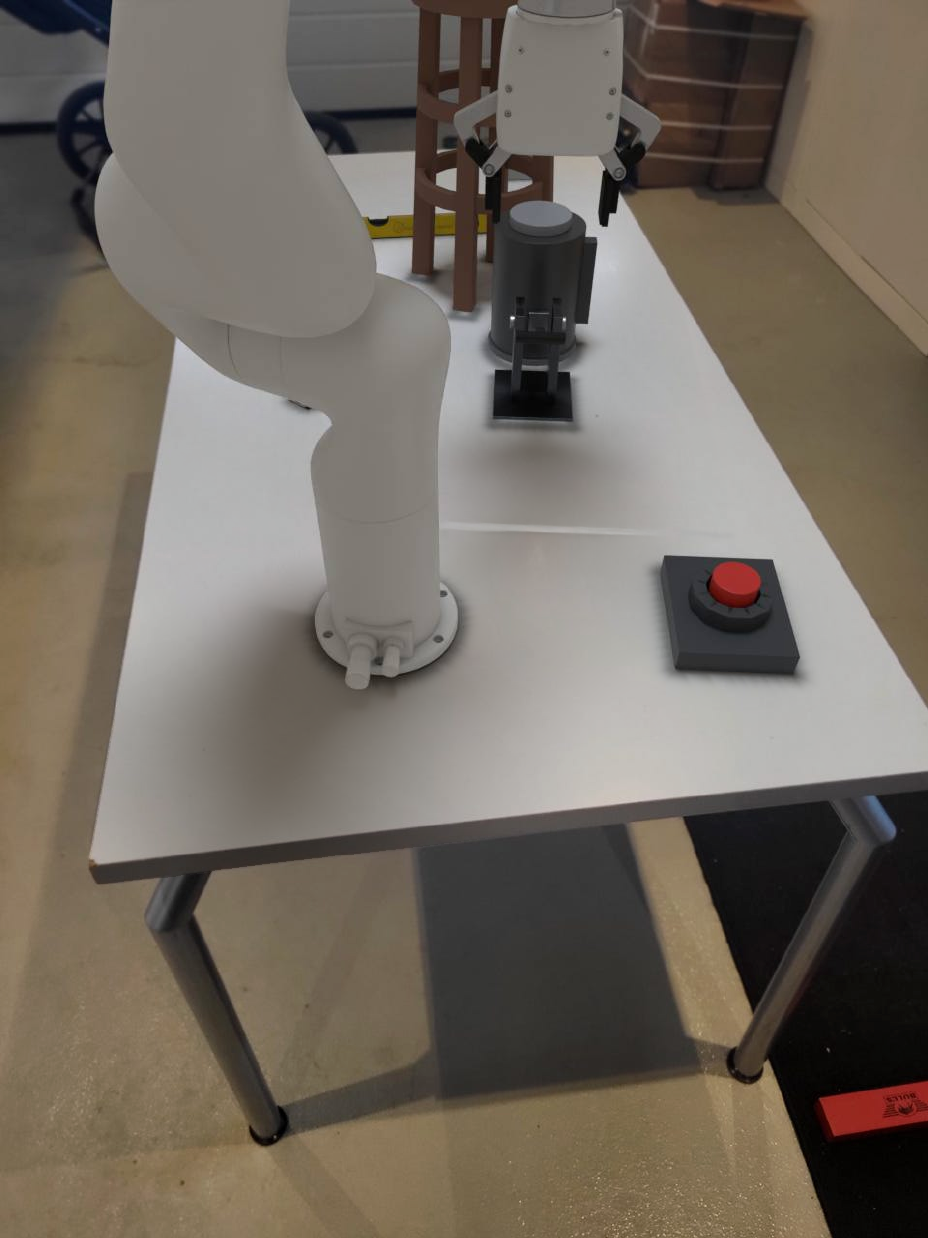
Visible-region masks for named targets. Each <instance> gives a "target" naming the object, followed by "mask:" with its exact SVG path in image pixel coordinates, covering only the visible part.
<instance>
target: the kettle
mask: <svg viewBox="0 0 928 1238" xmlns="http://www.w3.org/2000/svg"><path fill="white" fill-rule="evenodd" d="M597 251H598V237H597V236H587V222H586V221H585V219H584V218H583V217H582V216H581V215H579V214H577V213H576V212H573V211H572V210H571V209H570V208H569V207H567V206H565V205H564V204H562V203H558V202H554V201H553V202H549V201H529V202H524V203H520V204H518V205H516V206H514V207H513V208H512V209H510V210H507V211H505V212H503V213H501V214H500V222H498V224H494V251H493V262H492V283H491V285H492V286H491V290H492V291H491V312H490V313H491V315H490V316H491V319H490V331H489V332H488V336H487V337H488V338H487V343H488V344H487V345H488V347H489V349H490V351H491V352H492V353H493V354H494V355H495V356H496V357H498V358H500V359H501V360H503V361H506V362H508V363H511V364H512V359H513V340H514V329H511V328H510V315H515V302H516V297H525V323H524V331H527V320H528V309H548V311H549V325H548V332H550V323H551V312H552V300H553V298H562V310H563V317H566V329H565V330H562V332H566V344H565V345H560V354H559V363H560V362H564V361H565V360H567V359H568V358H570V357H571V356H572V355H573V354H574V353H575V351H576V348H577V341H578V340H577V335H576V329H577V328H576V327H577V325H588V324H589V318H590V311H591V301H592V295H593V294H592V292H593V285H594V275H595V269H596V259H597ZM548 347H549V344H523V356H522V366H527V367H543V366H544V367H545V366H547V359H548Z"/></svg>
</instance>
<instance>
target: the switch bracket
mask: <svg viewBox="0 0 928 1238" xmlns="http://www.w3.org/2000/svg"><path fill="white" fill-rule="evenodd" d="M524 323H525V297H516V302H515V315H510V328H511V329H514V340H513V359H512V363H511V369H499V368H498V369H497V368H496V369H494V378H493V379H494V381H493V398H492V399H493V400H492V403H493V404H492V420H507V421H508V420H510V421H537V422H539V421H540V422H541V421H542V422H565V423H566V422H569V423H573V422H574V412H573V397H572V381H571V380H572V379H571V371H559V363H560V362H559V354H560V345H552V344H549V347H548V359H547V365H546V370H529V369H528V370H525V369H524V370H523V365H522V356H523V344H521V343H515V333H516V331H524ZM565 329H566V317H563V310H562V298H553V300H552V312H551V323H550V332H562V330H565Z"/></svg>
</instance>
